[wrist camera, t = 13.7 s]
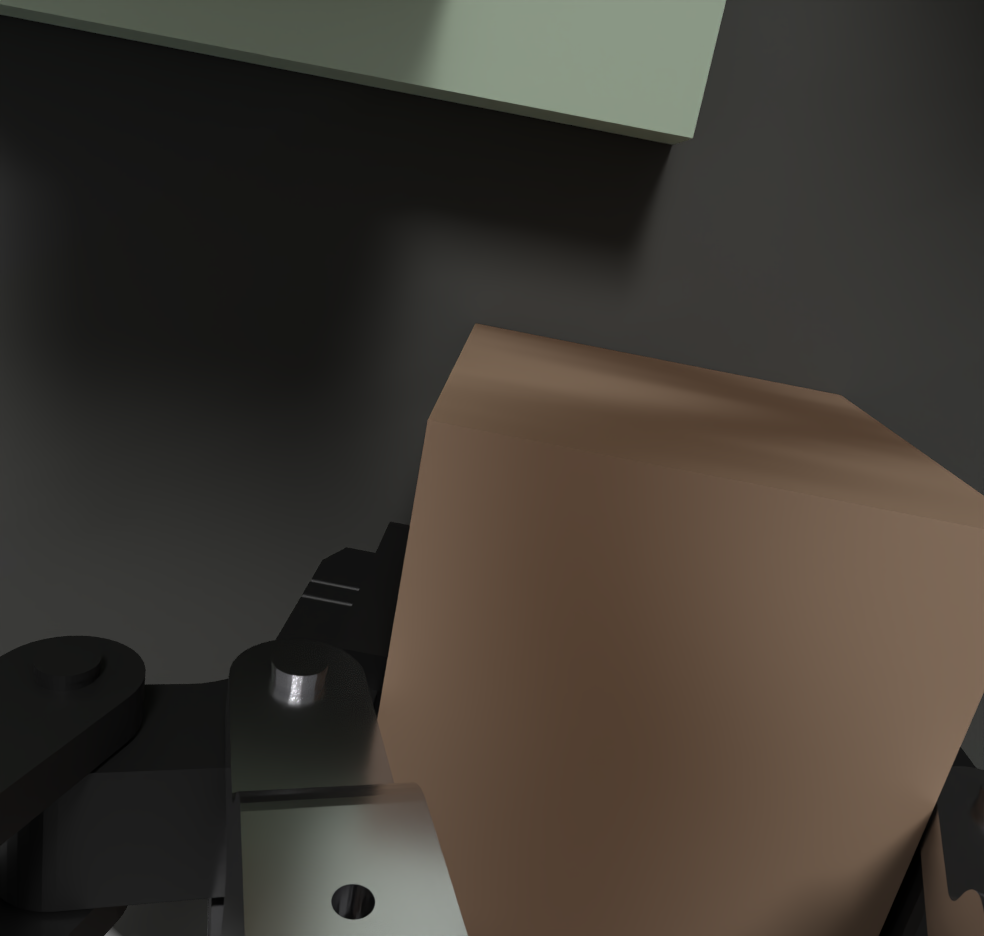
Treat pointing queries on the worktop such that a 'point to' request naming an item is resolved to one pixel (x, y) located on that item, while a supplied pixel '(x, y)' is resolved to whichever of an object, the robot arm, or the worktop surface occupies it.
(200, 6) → the baseplate
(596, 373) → the walnut brick
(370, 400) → the worktop surface
